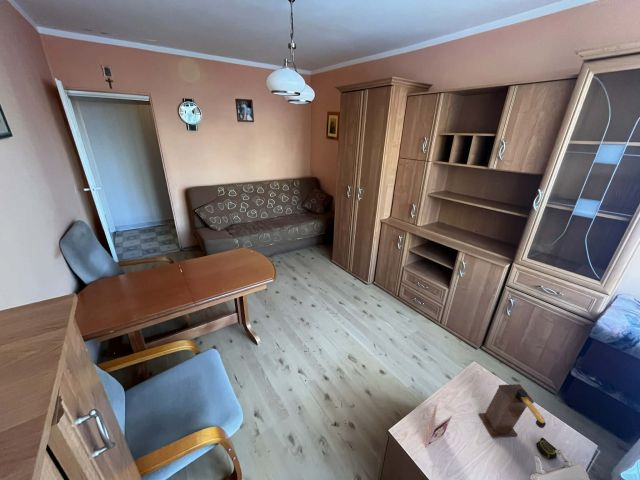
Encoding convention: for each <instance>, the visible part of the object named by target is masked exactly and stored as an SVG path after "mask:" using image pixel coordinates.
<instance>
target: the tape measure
mask: <svg viewBox="0 0 640 480" xmlns="http://www.w3.org/2000/svg"><path fill="white" fill-rule="evenodd" d="M535 445H536V449H537V451H538V452H539V454H541V456H542V457H544V458H545V459H547V460H550V461H553V460H555V459H557V457H558V456H557V454H556V452H555V450H558V449H557V448H556V447H555V446H553V445H552V444H551V443H550V442H549V441H547V440H546V438H545V437H540V438H539V441H537V442H536V443H535Z"/></svg>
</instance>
